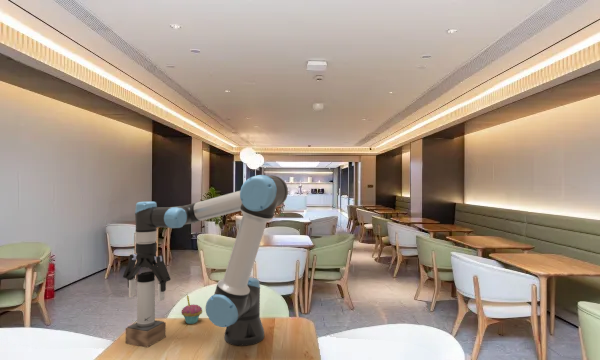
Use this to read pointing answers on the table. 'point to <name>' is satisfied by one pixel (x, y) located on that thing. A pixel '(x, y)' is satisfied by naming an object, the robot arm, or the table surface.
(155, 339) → the walnut stand
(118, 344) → the table surface
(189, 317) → the cupcake
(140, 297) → the travel mug
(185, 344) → the table surface
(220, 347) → the table surface
